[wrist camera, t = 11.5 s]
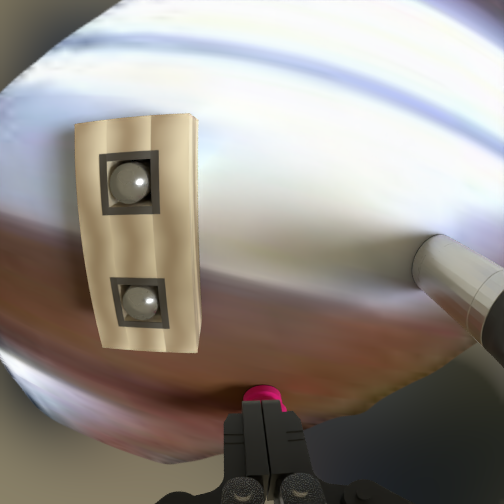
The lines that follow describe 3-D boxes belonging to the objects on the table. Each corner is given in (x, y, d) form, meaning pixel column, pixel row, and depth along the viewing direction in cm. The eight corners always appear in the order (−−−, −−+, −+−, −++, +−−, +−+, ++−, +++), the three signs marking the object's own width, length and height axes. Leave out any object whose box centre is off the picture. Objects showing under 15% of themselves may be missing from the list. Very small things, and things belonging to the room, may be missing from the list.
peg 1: (164, 158, 35) (147, 162, 28) (164, 191, 36) (148, 203, 29) (132, 159, 35) (108, 164, 27) (133, 192, 36) (110, 204, 29)
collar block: (198, 119, 34) (189, 113, 27) (201, 318, 43) (197, 353, 35) (103, 126, 33) (74, 124, 26) (120, 315, 42) (102, 347, 34)
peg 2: (168, 261, 39) (155, 288, 32) (170, 290, 41) (158, 320, 33) (138, 261, 39) (120, 287, 32) (141, 289, 40) (125, 319, 33)
